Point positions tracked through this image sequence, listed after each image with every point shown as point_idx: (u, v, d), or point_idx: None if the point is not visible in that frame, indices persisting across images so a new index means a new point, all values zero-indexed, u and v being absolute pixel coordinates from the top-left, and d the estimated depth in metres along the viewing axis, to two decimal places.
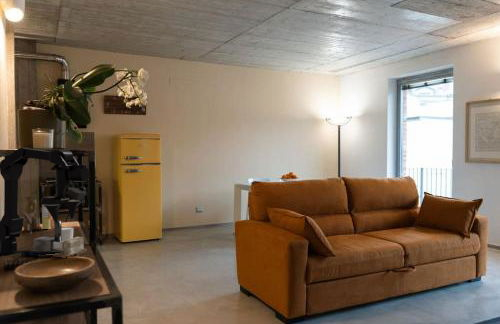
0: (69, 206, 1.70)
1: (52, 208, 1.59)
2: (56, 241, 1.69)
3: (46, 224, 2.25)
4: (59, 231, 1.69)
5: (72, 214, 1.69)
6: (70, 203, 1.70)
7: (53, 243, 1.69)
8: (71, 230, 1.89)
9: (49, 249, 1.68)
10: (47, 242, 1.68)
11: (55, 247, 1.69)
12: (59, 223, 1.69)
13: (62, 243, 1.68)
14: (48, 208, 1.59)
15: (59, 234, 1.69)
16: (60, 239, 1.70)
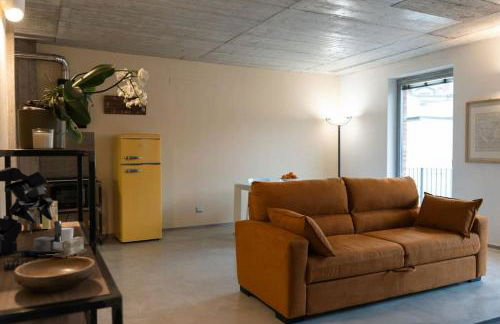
0: (43, 213, 1.77)
1: (24, 213, 1.67)
2: (56, 241, 1.69)
3: (46, 224, 2.25)
4: (59, 231, 1.69)
5: (49, 215, 1.76)
6: (42, 210, 1.78)
7: (53, 243, 1.69)
8: (71, 230, 1.89)
9: (49, 249, 1.68)
10: (47, 242, 1.68)
11: (55, 247, 1.69)
12: (59, 223, 1.69)
13: (62, 243, 1.68)
14: (20, 215, 1.67)
15: (59, 234, 1.69)
16: (60, 239, 1.70)
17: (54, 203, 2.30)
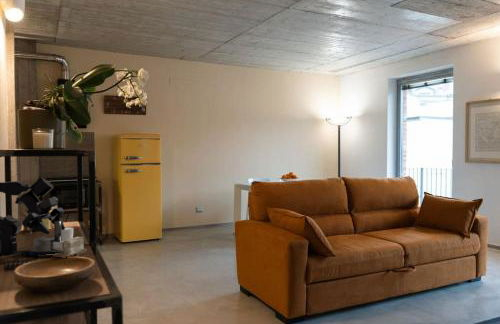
0: None
1: (37, 225, 1.66)
2: (56, 241, 1.69)
3: (46, 224, 2.25)
4: (59, 231, 1.69)
5: None
6: (54, 220, 1.76)
7: (53, 243, 1.69)
8: (71, 230, 1.89)
9: (49, 249, 1.68)
10: (47, 242, 1.68)
11: (55, 247, 1.69)
12: (59, 223, 1.69)
13: (62, 243, 1.68)
14: (34, 227, 1.65)
15: (59, 234, 1.69)
16: (60, 239, 1.70)
17: None
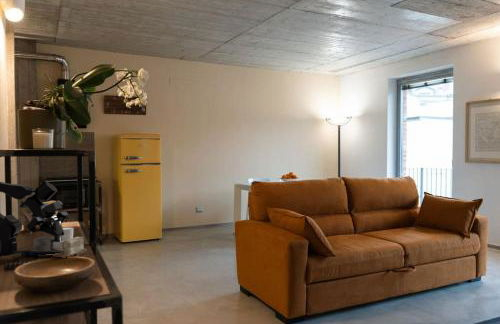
0: None
1: (47, 228, 1.68)
2: (56, 241, 1.69)
3: None
4: (59, 231, 1.69)
5: None
6: (53, 225, 1.73)
7: (53, 243, 1.69)
8: (71, 230, 1.89)
9: (49, 249, 1.68)
10: (47, 242, 1.68)
11: (55, 247, 1.69)
12: (59, 223, 1.69)
13: (62, 243, 1.68)
14: (44, 230, 1.68)
15: (59, 234, 1.69)
16: (60, 239, 1.70)
17: None
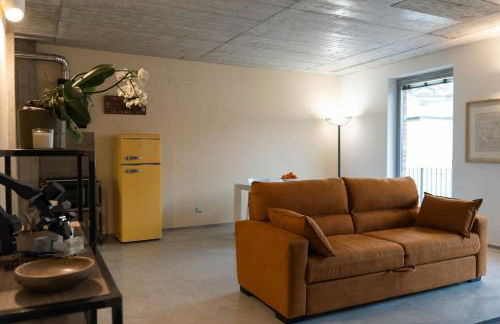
0: None
1: (55, 228, 1.67)
2: None
3: None
4: (67, 231, 1.68)
5: None
6: None
7: (61, 243, 1.68)
8: None
9: (49, 249, 1.68)
10: (47, 242, 1.68)
11: (63, 247, 1.68)
12: (67, 223, 1.68)
13: None
14: (52, 230, 1.67)
15: (67, 234, 1.68)
16: None
17: (54, 203, 2.30)
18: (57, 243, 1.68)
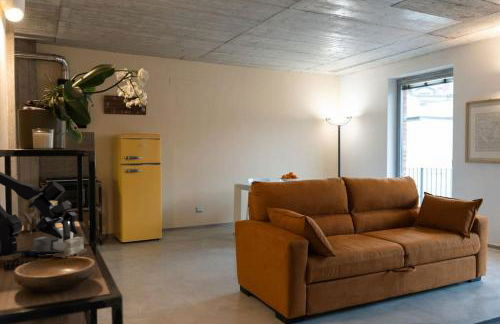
0: None
1: (50, 229, 1.64)
2: None
3: None
4: (68, 231, 1.68)
5: (74, 230, 1.73)
6: None
7: (62, 243, 1.68)
8: None
9: (49, 249, 1.68)
10: (47, 242, 1.68)
11: None
12: (68, 223, 1.68)
13: None
14: (47, 232, 1.64)
15: (68, 234, 1.68)
16: None
17: (54, 203, 2.30)
18: (57, 243, 1.68)
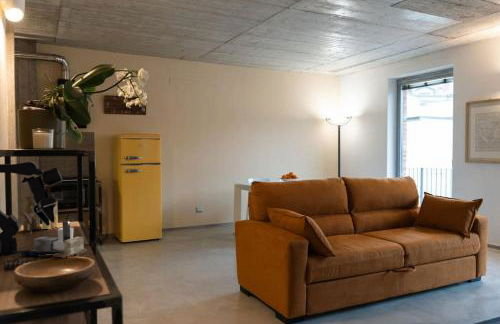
0: (41, 216, 1.78)
1: (47, 210, 1.70)
2: None
3: None
4: (68, 231, 1.68)
5: (48, 221, 1.79)
6: (41, 212, 1.78)
7: (62, 243, 1.68)
8: (71, 230, 1.89)
9: (49, 249, 1.68)
10: (47, 242, 1.68)
11: None
12: (68, 223, 1.68)
13: None
14: (44, 210, 1.69)
15: (68, 234, 1.68)
16: None
17: (54, 203, 2.30)
18: (57, 243, 1.68)
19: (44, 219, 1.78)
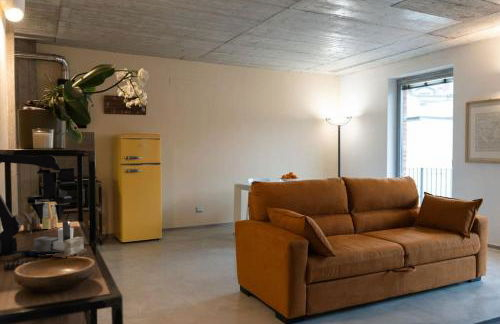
0: (38, 208, 1.78)
1: (60, 207, 1.76)
2: None
3: (46, 224, 2.25)
4: (68, 231, 1.68)
5: (42, 215, 1.79)
6: (38, 205, 1.78)
7: (62, 243, 1.68)
8: (71, 230, 1.89)
9: (49, 249, 1.68)
10: (47, 242, 1.68)
11: None
12: (68, 223, 1.68)
13: None
14: (59, 207, 1.74)
15: (68, 234, 1.68)
16: None
17: (54, 203, 2.30)
18: (57, 243, 1.68)
19: (40, 212, 1.78)
